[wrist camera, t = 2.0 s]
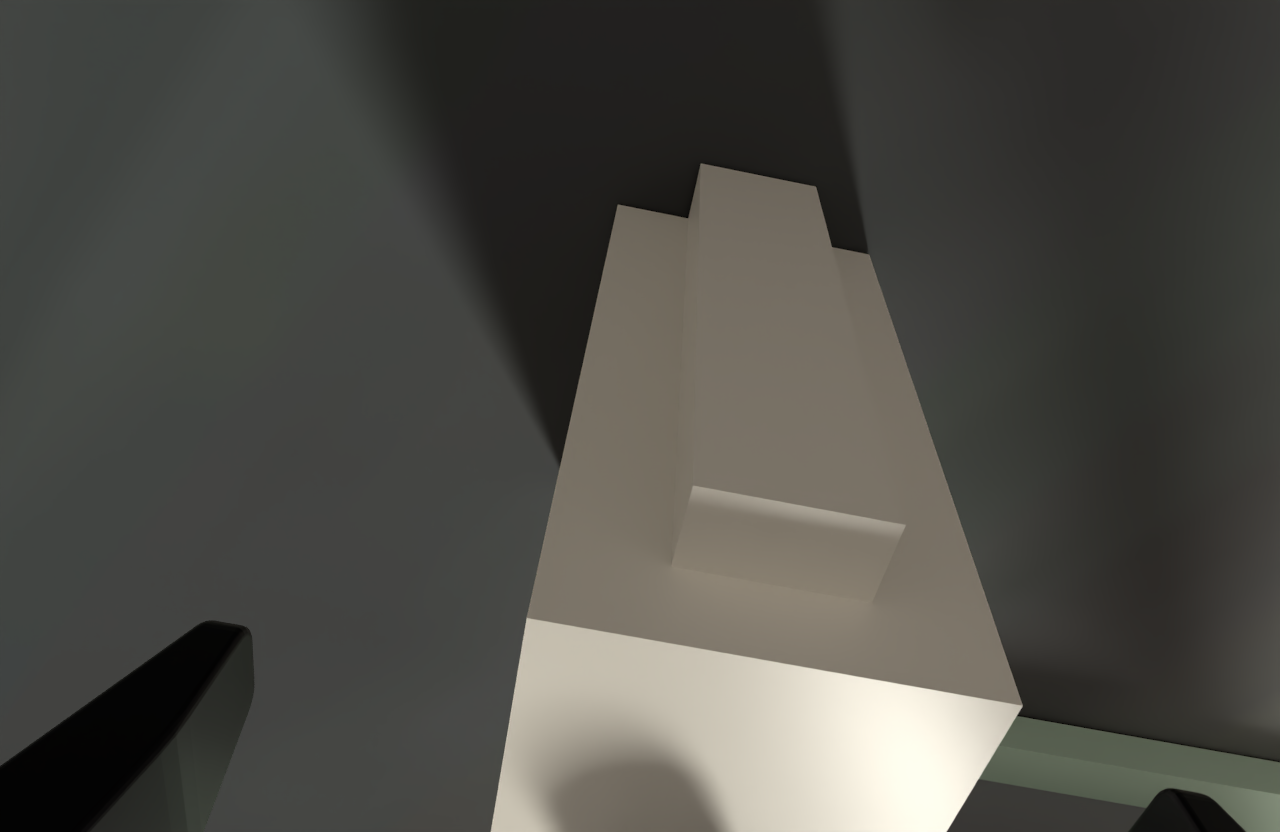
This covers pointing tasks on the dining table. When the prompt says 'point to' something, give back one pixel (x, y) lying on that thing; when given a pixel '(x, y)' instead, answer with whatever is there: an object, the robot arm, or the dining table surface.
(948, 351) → the dining table surface
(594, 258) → the dining table surface
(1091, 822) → the header socket
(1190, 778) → the circuit board
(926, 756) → the keyed plug
